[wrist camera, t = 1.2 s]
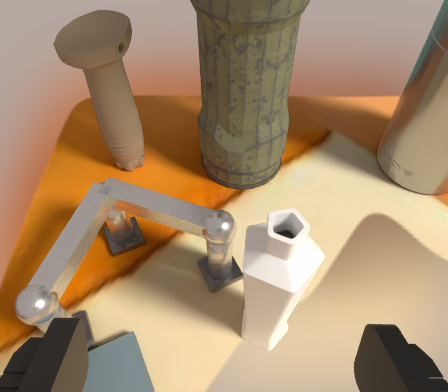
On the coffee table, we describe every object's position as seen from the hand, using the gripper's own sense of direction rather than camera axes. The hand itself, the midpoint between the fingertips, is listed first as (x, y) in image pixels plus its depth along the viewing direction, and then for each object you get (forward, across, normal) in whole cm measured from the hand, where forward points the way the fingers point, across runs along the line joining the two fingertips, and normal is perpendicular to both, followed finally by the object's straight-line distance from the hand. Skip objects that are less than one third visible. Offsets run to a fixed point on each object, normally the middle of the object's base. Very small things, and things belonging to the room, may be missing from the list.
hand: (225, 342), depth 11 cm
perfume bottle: (+15, -5, +14) cm, 21 cm away
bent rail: (+20, +6, +12) cm, 24 cm away
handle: (+32, +8, +7) cm, 33 cm away
